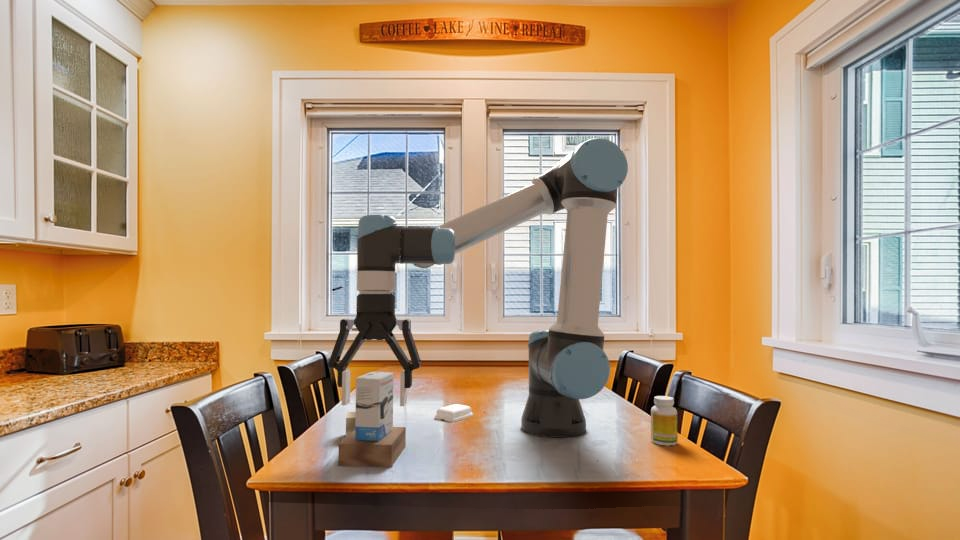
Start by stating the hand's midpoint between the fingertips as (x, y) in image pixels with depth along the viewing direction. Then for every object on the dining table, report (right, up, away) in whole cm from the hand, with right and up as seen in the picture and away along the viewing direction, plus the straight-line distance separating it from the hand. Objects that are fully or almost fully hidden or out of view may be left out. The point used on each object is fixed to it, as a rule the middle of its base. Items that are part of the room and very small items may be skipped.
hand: (374, 404), depth 97 cm
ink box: (0, -6, 0) cm, 6 cm away
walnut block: (0, -10, 0) cm, 10 cm away
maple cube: (-6, -11, +12) cm, 17 cm away
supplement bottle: (+61, -11, +9) cm, 62 cm away
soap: (+14, -12, +30) cm, 35 cm away
